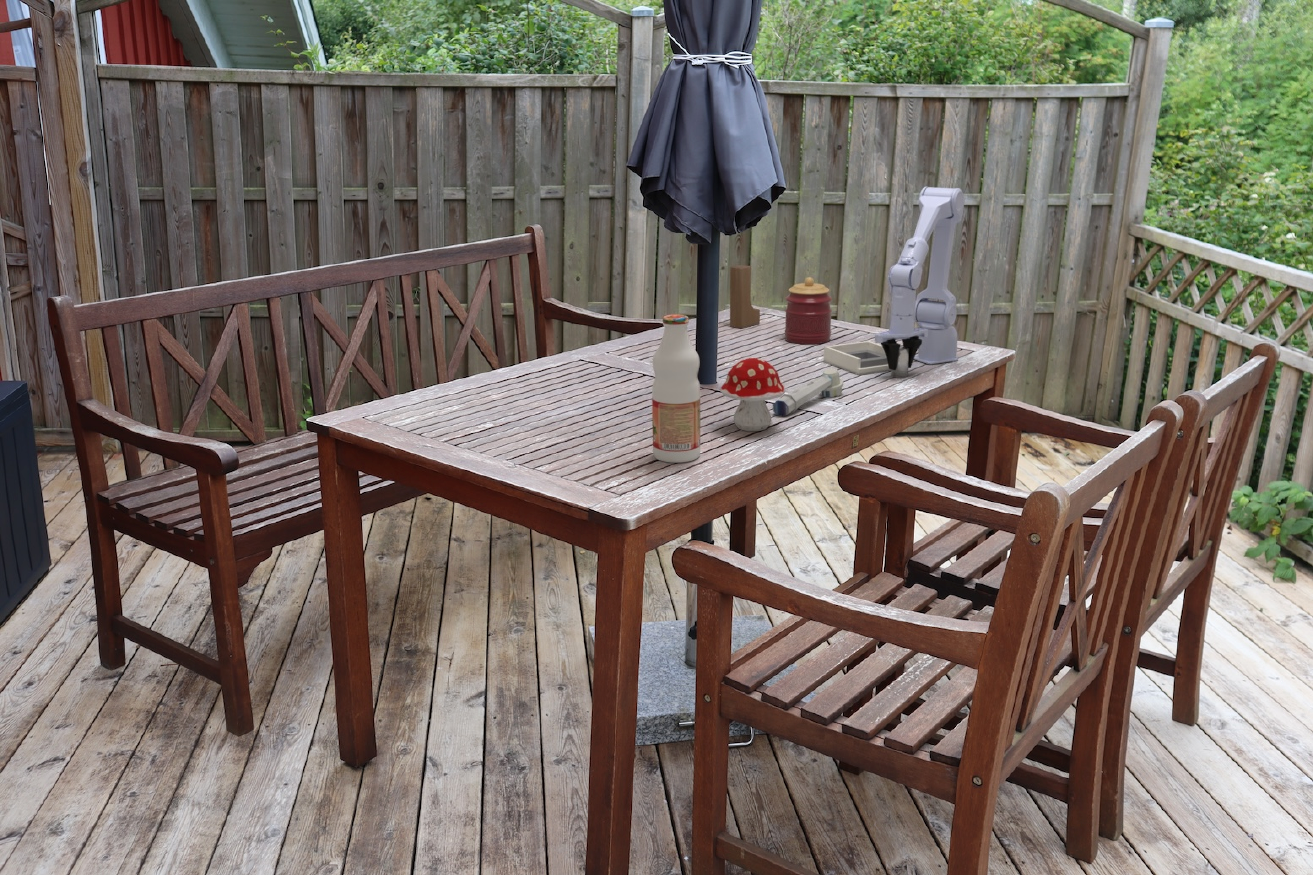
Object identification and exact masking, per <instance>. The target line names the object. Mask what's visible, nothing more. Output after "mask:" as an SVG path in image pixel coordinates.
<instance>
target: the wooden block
mask: <svg viewBox="0 0 1313 875" xmlns="http://www.w3.org/2000/svg"><path fill="white" fill-rule="evenodd" d="M729 269H730V271H729V273H730V274H729V276H730V277H729V278H730V279H729V281H730V282H729V326H730V327H731V328H735V329H746V328H749V327H753V326H758V325H759V324H760V323H761V322H760V320H761V319H760V318H761V317H760V316H761V309H759V308H754V307H753V306H752V300H751V298H752V296H751V294H752V293H751V292H752V290H751V288H752V286H751V284H752V266H750V265H744V264H738V265H737V264H736V265H731V266H730V268H729Z"/></svg>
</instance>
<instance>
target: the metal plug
mask: <svg viewBox="0 0 1313 875" xmlns="http://www.w3.org/2000/svg"><path fill="white" fill-rule="evenodd" d="M908 363H909V348H908V347H904V346H903V345H901V346H900V349H899V352H898V357H897V367H896V370H892V371H890V375H891V377H893V378H897V379H898V378H899V379H902V378H904V379H905V378H908V376H909V368H908Z"/></svg>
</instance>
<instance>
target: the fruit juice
mask: <svg viewBox="0 0 1313 875" xmlns="http://www.w3.org/2000/svg"><path fill="white" fill-rule="evenodd" d="M689 321H690V320H689V316H687V315H686V314H678V313H677V314H666V315H664V316H663V317H662V325H663V326H664V328H663V334H662V337H661V341H660V344H659V346H658V347H657V349H656V351H655V352H654V354H653V357H652V365H651V366H652V368H653V372H654V380H653V381H652V382H653V383H652V387H651V388H652V389H651V397H652V398H651V406H652V409H651V411H652V414H651V415H652V420H651V421H652V454H653V456H654V458H655V459H656V460H659V461H660V462H664V463H674V464H675V463H680V464H681V463H687V462H688V463H689V462H692V461H694V460H696V459H697V460H698V458H699V457H700V455H701V384H700V381H699V379H698V374H699V368H700V356H699V354H698V352H697V351H696V349H695V347H694V346H693V343H692V340H691V338H690V335H689V331H688V326H689Z"/></svg>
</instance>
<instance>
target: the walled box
mask: <svg viewBox="0 0 1313 875" xmlns="http://www.w3.org/2000/svg"><path fill="white" fill-rule="evenodd" d="M823 363H826V364H828V365H831V366H834V367H836V368H839V369H842V370H845V371H847V372H850V373H851V374H855V375H857V376H863V375H871V374H878V373H885V372H891V371H892V370H891V369H889V367H888V361H887V357H886V354H885V351H884V349H883V347H882V345H881V344H880V343H879V344H878V343H877V342H873V341H869V340H864V341H858V342H849V343H844V344H843V343H842V344H834V345H827V346H823Z"/></svg>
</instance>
